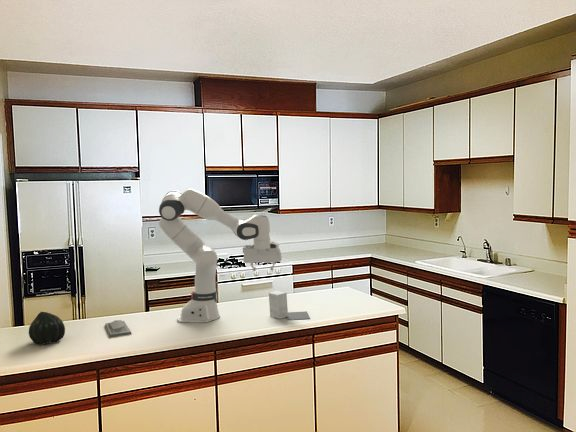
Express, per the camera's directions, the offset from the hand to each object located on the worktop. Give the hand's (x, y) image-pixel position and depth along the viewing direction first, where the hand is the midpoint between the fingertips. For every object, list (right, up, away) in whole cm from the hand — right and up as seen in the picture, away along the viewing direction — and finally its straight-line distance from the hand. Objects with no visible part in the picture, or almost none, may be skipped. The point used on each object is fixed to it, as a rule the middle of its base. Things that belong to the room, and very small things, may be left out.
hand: (263, 270), depth 247 cm
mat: (+18, -25, +3) cm, 31 cm away
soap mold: (-72, -29, -14) cm, 79 cm away
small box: (+8, -25, +3) cm, 27 cm away
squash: (-100, -30, -29) cm, 108 cm away
